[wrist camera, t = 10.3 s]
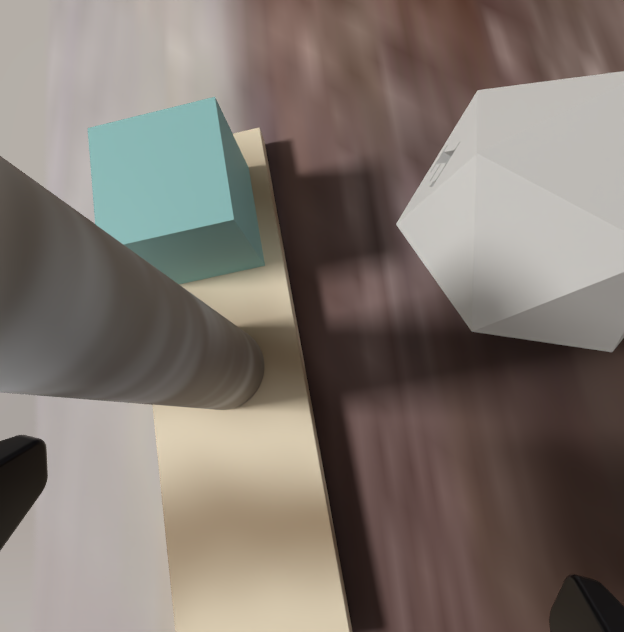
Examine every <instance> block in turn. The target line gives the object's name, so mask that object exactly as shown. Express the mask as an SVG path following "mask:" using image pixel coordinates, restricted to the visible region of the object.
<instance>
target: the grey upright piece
mask: <svg viewBox="0 0 624 632" xmlns="http://www.w3.org/2000/svg"><path fill="white" fill-rule="evenodd" d="M233 136H234V138H235V140H236V142H237V144H238V146H239V148H240V150H241V153H242V155H243V157H244V159H245V161H246V163H247V165H248V167H249V173H250V179H251V185H252V191H253V197H254V203H255V209H256V215H257V221H258V227H259V233H260V238H261V244H262V250H263V256H264V262H265V266H261V267H257V268H252V269H248V270H243V271H238V272H234V273H229V274H225V275H220V276H215V277H211V278H206V279H202V280H197V281H192V282H188V283H183V284H178V283H176V282H175V281H173V280H172V279H171V278H169V277H168V276H166V275H165V274H164V273H162V272H161V271H160V270H158V269H157V268H155V267H154V266H153V265H151V264H150V263H148V262H147V261H146V260H144V259H143V258H141V257H140V256H139V255H137V254H136V253H134V252H133V251H132V250H130V249H129V248H128V247H126V246H125V245H123V244H122V243H121V242H119V241H118V240H116V239H115V238H114V237H112V236H111V235H109V234H108V233H107V232H105V231H104V230H102V229H101V228H100V227H98V226H97V225H96V224H94V223H93V222H91V221H90V220H89V219H87V218H86V217H84V216H83V215H82V214H80V213H79V212H77V211H76V210H75V209H73V208H72V207H71V206H69V205H68V204H66V203H65V202H64V201H62V200H61V199H59V198H58V197H57V196H55V195H54V194H52V193H51V192H50V191H48V190H47V189H45V188H44V187H43V186H41V185H40V184H39V183H37V182H36V181H34V180H33V179H32V178H30V177H29V176H27V175H26V174H25V173H23V172H22V171H20V170H19V169H18V168H16V167H15V166H13V165H12V164H11V163H9V162H8V161H7V160H5V159H4V158H2V157H1V156H0V392H3V393H15V394H28V395H40V396H52V397H65V398H77V399H89V400H102V401H114V402H127V403H139V404H151V405H153V414H154V424H155V434H156V444H157V454H158V464H159V474H160V484H161V494H162V504H163V513H164V523H165V533H166V543H167V553H168V563H169V573H170V583H171V593H172V602H173V612H174V622H175V632H353V631H352V626H351V620H350V615H349V609H348V603H347V598H346V592H345V587H344V581H343V576H342V570H341V565H340V559H339V553H338V548H337V542H336V537H335V531H334V526H333V520H332V515H331V509H330V503H329V498H328V492H327V487H326V481H325V476H324V470H323V465H322V459H321V453H320V448H319V442H318V437H317V431H316V426H315V420H314V414H313V409H312V403H311V398H310V392H309V387H308V381H307V376H306V370H305V364H304V359H303V353H302V348H301V342H300V337H299V331H298V326H297V320H296V314H295V309H294V303H293V298H292V292H291V287H290V281H289V276H288V270H287V264H286V259H285V253H284V248H283V242H282V237H281V231H280V225H279V220H278V214H277V209H276V203H275V198H274V192H273V187H272V181H271V175H270V170H269V164H268V159H267V153H266V148H265V142H264V139H263V136H262V133H261V131H260V128H255V129H251V130H247V131H243V132H238V133H234V134H233Z"/></svg>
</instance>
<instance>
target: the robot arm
mask: <svg viewBox="0 0 624 632" xmlns="http://www.w3.org/2000/svg"><path fill="white" fill-rule="evenodd" d="M47 477H48V473H47V452H46V444H45V442H44V441H43V440H41V439H39V438H35V437H31V436H27V435H18V436H15V437H12V438H9V439H5V440H2V441H0V550H1V549H2V548H3V546H4V545H5V543H6V542H7V541H8V539H9V538H10V536H11V535H12V533H13V532H14V531H15V529H16V528H17V526H18V525H19V524H20V522H21V521H22V519H23V518H24V517H25V515H26V514H27V512H28V511H29V510H30V508H31V507H32V505H33V504H34V503H35V501H36V500H37V498H38V497H39V496H40V494H41V493H42V491H43V489H44V487H45V485H46V482H47ZM549 620H550V632H624V606H623V605H622V604H621V603H620V602H619V601H618V600H617V599H616V598H615V597H614V596H613V595H612V594H611V593H610V592H609V591H608V590H607V589H606V588H605V587H604V586H603V585H602V584H601V583H600V582H598V581H596V580H594V579H590V578H586V577H582V576H578V575H569V576H568V577H567V578H566V579H565V581H564V583H563V585H562V587H561V589H560V592H559V594H558V596H557V598H556V600H555V602H554V604H553V606H552V609H551V612H550V619H549Z"/></svg>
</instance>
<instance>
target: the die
mask: <svg viewBox="0 0 624 632" xmlns="http://www.w3.org/2000/svg"><path fill="white" fill-rule="evenodd" d="M396 225H397V226H398V228H399V229H400V231H401V232H402V233H403V235H404V236H405V238H406V239H407V241H408V242H409V243H410V245H411V246H412V248H413V249H414V250H415V252H416V253H417V255H418V256H419V258H420V259H421V260H422V262H423V263H424V265H425V266H426V267H427V269H428V270H429V272H430V273H431V275H432V276H433V277H434V279H435V280H436V282H437V283H438V284H439V286H440V287H441V289H442V290H443V292H444V293H445V294H446V296H447V297H448V299H449V300H450V301H451V303H452V304H453V306H454V307H455V309H456V310H457V311H458V313H459V314H460V316H461V317H462V318H463V320H464V321H465V323H466V324H467V326H468V327H469V328H470V330H471V331H472V332H478V333H485V334H491V335H498V336H505V337H512V338H519V339H525V340H532V341H539V342H546V343H552V344H559V345H566V346H573V347H580V348H586V349H593V350H600V351H607V352H613V351H614V350H615V348H616V347H617V346H618V345H619V343H620V342H621V341H622V340H623V338H624V71H622V72H615V73H607V74H599V75H592V76H584V77H576V78H569V79H561V80H553V81H545V82H538V83H530V84H522V85H515V86H507V87H499V88H492V89H484V90H478V91H477V92H476V94H475V96H474V97H473V99H472V101H471V102H470V104H469V105H468V107H467V109H466V110H465V112H464V114H463V115H462V117H461V119H460V120H459V122H458V123H457V125H456V127H455V128H454V130H453V132H452V133H451V135H450V137H449V138H448V140H447V141H446V143H445V145H444V146H443V148H442V150H441V151H440V153H439V155H438V156H437V158H436V159H435V161H434V163H433V164H432V166H431V168H430V169H429V171H428V173H427V174H426V176H425V177H424V179H423V181H422V182H421V184H420V186H419V187H418V189H417V191H416V192H415V194H414V195H413V197H412V199H411V200H410V202H409V204H408V205H407V207H406V209H405V210H404V212H403V214H402V215H401V217H400V218H399V220H398V222H397V223H396Z"/></svg>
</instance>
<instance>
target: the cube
mask: <svg viewBox="0 0 624 632" xmlns="http://www.w3.org/2000/svg"><path fill="white" fill-rule="evenodd" d="M88 138H89V151H90V164H91V176H92V189H93V201H94V214H95V224H96V225H97V226H98V227H100V228H101V229H102V230H104V231H105V232H107V233H108V234H109V235H111V236H112V237H114V238H115V239H116V240H118V241H119V242H121V243H122V244H123V245H125V246H126V247H128V248H129V249H130V250H132V251H133V252H134V253H136V254H137V255H139V256H140V257H141V258H143V259H144V260H146V261H147V262H148V263H150V264H151V265H153V266H154V267H155V268H157V269H158V270H160V271H161V272H162V273H164V274H165V275H166V276H168V277H169V278H171V279H172V280H173V281H175V282H176V283H178V284H183V283H188V282H192V281H197V280H202V279H206V278H211V277H215V276H220V275H225V274H229V273H234V272H238V271H243V270H248V269H252V268H257V267H261V266H265V262H264V256H263V250H262V244H261V238H260V233H259V227H258V221H257V215H256V209H255V203H254V197H253V191H252V185H251V179H250V173H249V167H248V165H247V163H246V161H245V159H244V157H243V155H242V153H241V150H240V148H239V146H238V144H237V142H236V140H235V138H234V136H233V134H232V132H231V130H230V127H229V125H228V123H227V121H226V119H225V117H224V115H223V113H222V111H221V109H220V107H219V104H218V102H217V100H216V98H215V97H212V98H208V99H204V100H200V101H196V102H192V103H188V104H184V105H180V106H176V107H172V108H168V109H164V110H160V111H156V112H152V113H147V114H143V115H139V116H135V117H131V118H127V119H123V120H119V121H115V122H111V123H107V124H103V125H99V126H95V127H91V128H88Z"/></svg>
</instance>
